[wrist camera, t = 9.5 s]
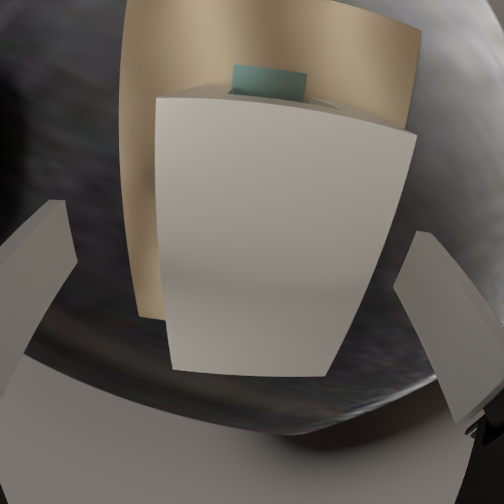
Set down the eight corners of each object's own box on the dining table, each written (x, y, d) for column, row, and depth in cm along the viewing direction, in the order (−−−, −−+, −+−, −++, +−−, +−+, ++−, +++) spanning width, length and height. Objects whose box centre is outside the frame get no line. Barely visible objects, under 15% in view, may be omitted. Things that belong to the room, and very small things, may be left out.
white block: (193, 267, 17) (172, 369, 11) (199, 85, 12) (155, 97, 6) (302, 276, 18) (324, 376, 12) (340, 102, 12) (417, 135, 6)
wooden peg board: (144, 302, 21) (123, 361, 17) (139, -3, 10) (89, -28, 5) (331, 318, 22) (346, 378, 17) (408, 32, 11) (469, 26, 6)
